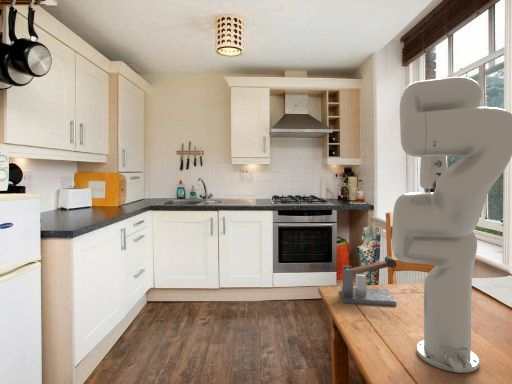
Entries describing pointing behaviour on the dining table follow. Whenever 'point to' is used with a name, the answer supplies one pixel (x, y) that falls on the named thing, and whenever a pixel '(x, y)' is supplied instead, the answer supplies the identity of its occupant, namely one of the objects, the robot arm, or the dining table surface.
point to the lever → (375, 266)
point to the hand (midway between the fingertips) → (431, 211)
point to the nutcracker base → (370, 292)
